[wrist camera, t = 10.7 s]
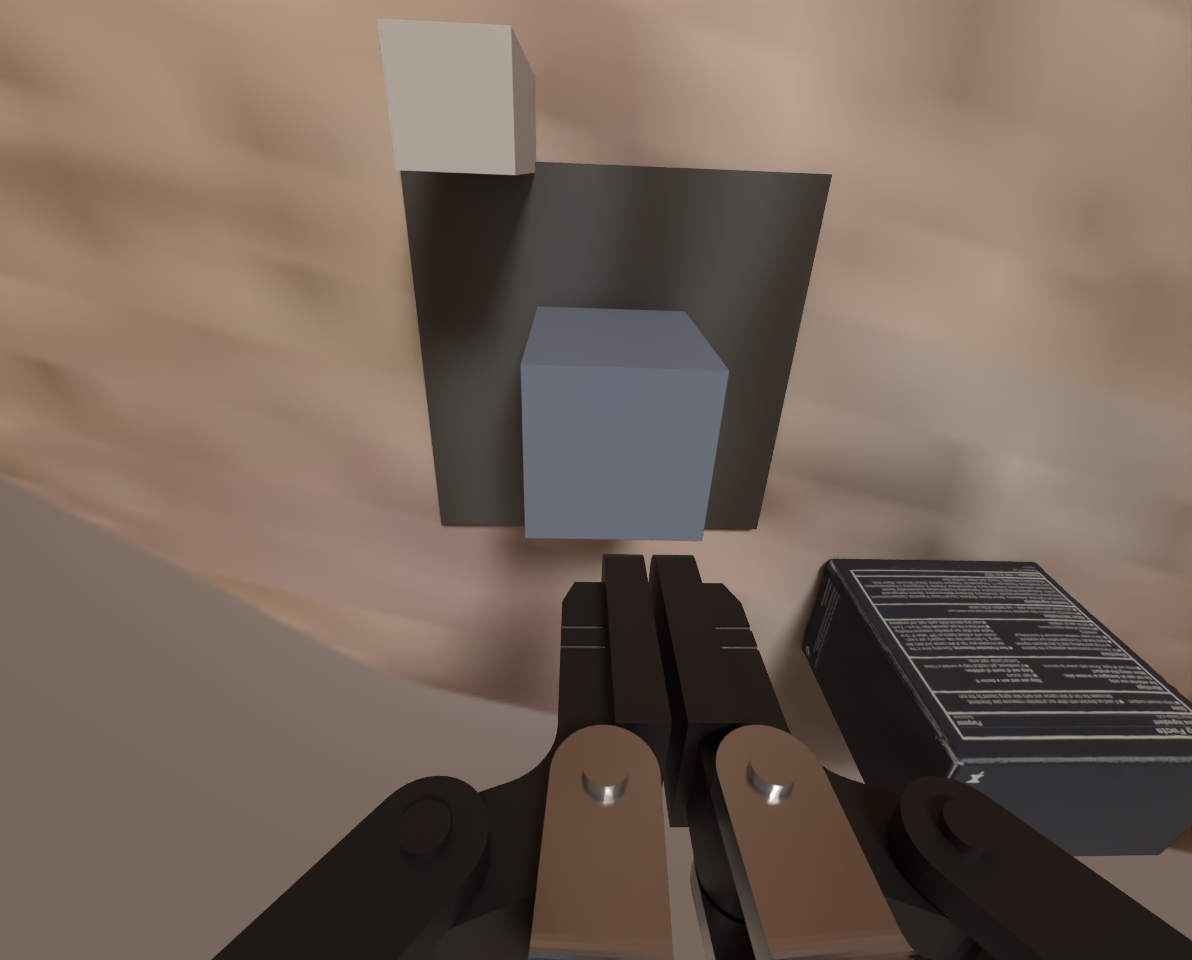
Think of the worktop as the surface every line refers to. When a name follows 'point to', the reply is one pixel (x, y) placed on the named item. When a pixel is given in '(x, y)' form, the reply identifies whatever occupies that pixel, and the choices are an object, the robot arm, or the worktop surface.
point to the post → (458, 97)
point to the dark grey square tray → (604, 303)
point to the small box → (1003, 699)
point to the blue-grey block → (618, 424)
